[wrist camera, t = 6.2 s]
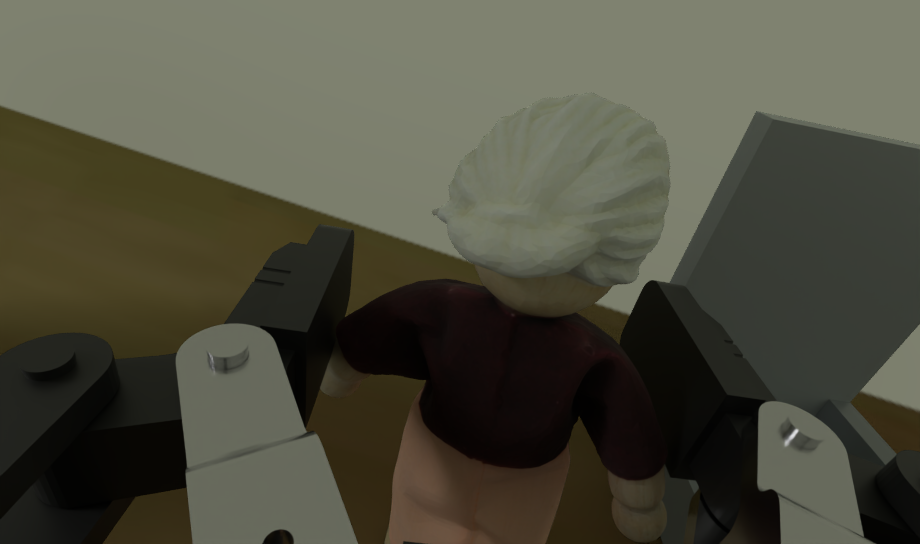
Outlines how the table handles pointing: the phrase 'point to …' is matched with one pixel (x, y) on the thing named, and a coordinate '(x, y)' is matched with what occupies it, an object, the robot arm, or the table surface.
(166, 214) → the table surface
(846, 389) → the case
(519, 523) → the grandmother figurine
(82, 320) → the table surface
